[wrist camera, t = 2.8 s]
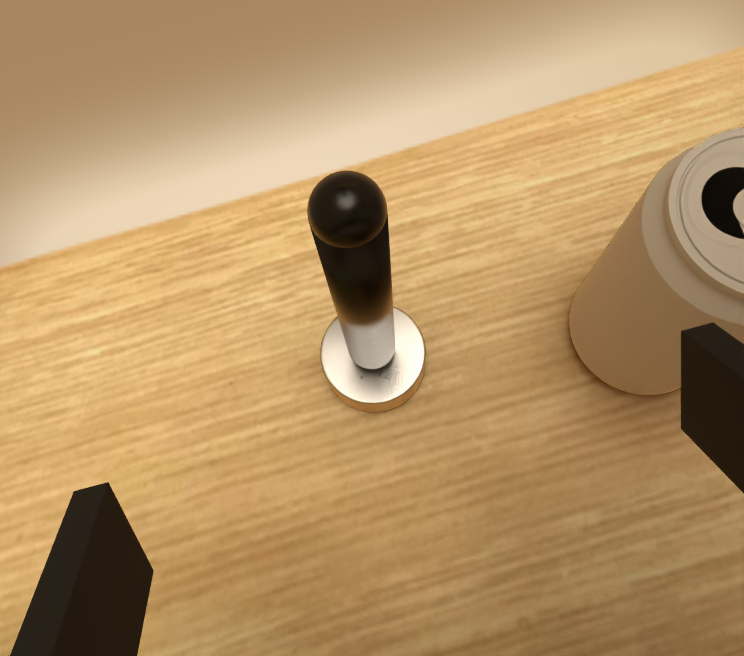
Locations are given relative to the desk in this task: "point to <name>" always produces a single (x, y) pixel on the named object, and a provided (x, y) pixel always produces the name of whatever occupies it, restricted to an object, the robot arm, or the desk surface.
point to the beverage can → (667, 271)
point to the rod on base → (362, 297)
